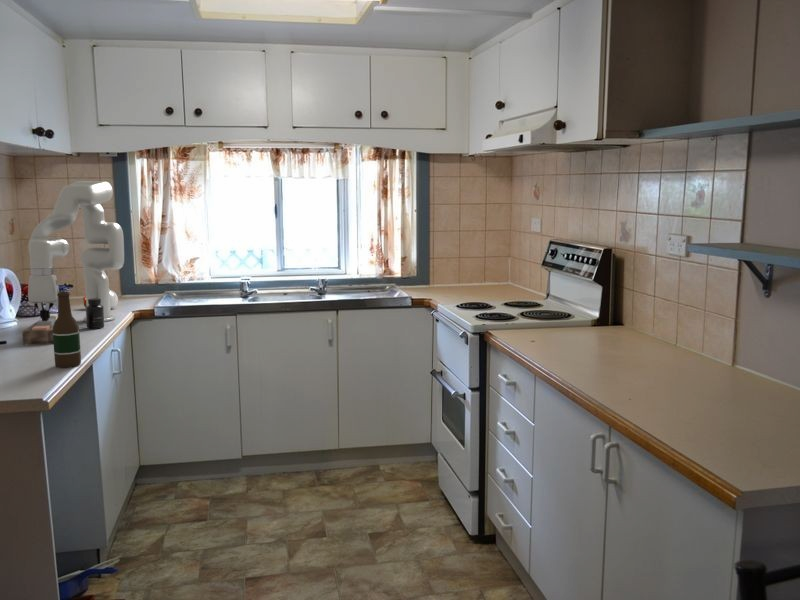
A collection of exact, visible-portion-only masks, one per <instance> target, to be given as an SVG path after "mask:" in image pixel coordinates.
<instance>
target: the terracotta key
mask: <svg viewBox="0 0 800 600" xmlns="http://www.w3.org/2000/svg"><path fill="white" fill-rule="evenodd" d="M49 329H50V325H47V326H35V327H33V328H32V331H37V330H49Z"/></svg>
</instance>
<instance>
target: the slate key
mask: <svg viewBox="0 0 800 600" xmlns="http://www.w3.org/2000/svg"><path fill="white" fill-rule="evenodd" d="M36 322H37V326H47V325H50V327H53V326H54V323H55V319H49V320H47V321H42V319H41V318H40V319H39V320H37V321H36Z"/></svg>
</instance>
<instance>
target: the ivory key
mask: <svg viewBox="0 0 800 600" xmlns="http://www.w3.org/2000/svg"><path fill="white" fill-rule="evenodd" d="M57 318H58V313H50V318H49V319H55V321H56V319H57Z"/></svg>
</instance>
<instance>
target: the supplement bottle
mask: <svg viewBox="0 0 800 600" xmlns="http://www.w3.org/2000/svg"><path fill="white" fill-rule="evenodd" d="M100 303H101V299H99V298H93V299H88V304H89V305H88V306H87V307H86V308H85V317H86V321H85V323H86V328H87V329H88V328H89V330H98V329H99V330H100V329H103V328H105V321H104V307H103V306H102V305H100Z"/></svg>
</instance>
